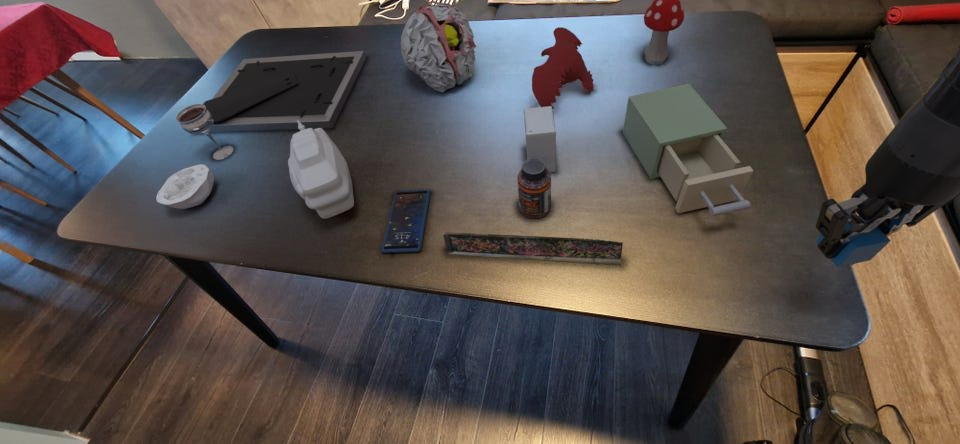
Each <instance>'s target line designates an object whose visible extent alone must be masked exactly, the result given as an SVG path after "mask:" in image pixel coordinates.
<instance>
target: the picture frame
mask: <svg viewBox="0 0 960 444" xmlns="http://www.w3.org/2000/svg"><path fill="white" fill-rule="evenodd" d="M366 60H367V55H366V53H365V51H364V50H358V51H357V50H355V51H341V52H327V53H326V52H325V53H313V54H298V55H297V54H296V55H284V56H283V55H282V56H269V57H253V58H243V59H242V60H241V62H240V63H238V65H237V66H236V68H235V69H234V70H233V71H232V73H231V74H230V76H229V77H228V78H227V79H226V81H225V82H224V83H223V84H222V86H221V87H220V88H219V90H218V91H217V92H216V93H215V95H213V97H212V98H210V99H208V100H205V101H204V102H202V104H203V105H205V107H206V110H208V111H209V112H210V113H211V114H212V116H213V119H214V123H213V127H212V128H211V129H210V132H209V133H210V134H211V133H233V132H234V133H237V132H238V133H239V132H240V133H241V132H259V131H260V132H262V131H263V132H264V131H265V132H266V131H291V130H293V131H294V130H299V129H298V122H297V120H298V121H300V123H301V124H302V125H304V126H305V129H308V128H312V129H317V128H322V129H323V130H324V129H333V128H334V126H335V125H336V122H337V120H338V118H339V116H340V114H341V113H342V110H343V108H344V106H345V103H346V101H347V99H348V97H349V96H350V93H351V91H352V89H353V86H354V84H355V83H356V81H357V78H358V76H359V74H360V72H361V70H362V68H363V66H364V64H365V61H366Z"/></svg>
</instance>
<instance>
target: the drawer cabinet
mask: <svg viewBox="0 0 960 444" xmlns="http://www.w3.org/2000/svg"><path fill="white" fill-rule="evenodd" d="M727 131H728V127H727V126H726V125H725V124H724V123H723V122H722V120H721V119H720V118H719V117H718V116H717V114H716V113H715V112H714V111H713V109H712V108H711V107H709V105H708V104H707V103H706V101H704V99H703V98H702V97H701V96H700V94H699V93H698V92H697V91H696V90H695V89H694V87H693V86H692V85H691V84H690V83H684V84H681V85H676V86H671V87H666V88H663V89H662V88H661V89H657V90H653V91H649V92H644V93H640V94H635V95H630V96H628V99H627V104H626V111H625V115H624V122H623V129H622V134H623V136H624V137H625V139H626V142H628V144H629V145H630V147H631V149H632V151H633V152H634V154H635V155H636V157H637V159H638V161H639V162H640V164H641V166H642V167H643V169H644V171H645V172H646V174H647V176H648V177H649V179H650V180H654V179H658V178H661V176H660V175H659V173H658V172H657V167H658V164H659V160H660V156H661V152H662V149H663V146H664V145H669V144H673V143H678V142H682V141H687V140H691V139H696V138H700V137H705V136H709V135H714V134H718V135H719V137H720V138H721V139H722V140H723V141H724V138H725V136H726V134H727Z"/></svg>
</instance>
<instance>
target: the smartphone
mask: <svg viewBox="0 0 960 444" xmlns="http://www.w3.org/2000/svg"><path fill="white" fill-rule="evenodd" d="M430 197H431V190H430V189H414V190H412V189H411V190H397V191H395V192H394V194H393V198H392V202H391V206H390V211H389V215H388V220H387V224H386V229H385V230H384V231H385V232H384V236H383V239H382V245H381V249H380V250H381V253H383V254H394V253H398V254H399V253H419V252H421V250H422V246H423V240H424V235H425V228H426V222H427V216H428V209H429V205H430V204H429V203H430Z"/></svg>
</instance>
